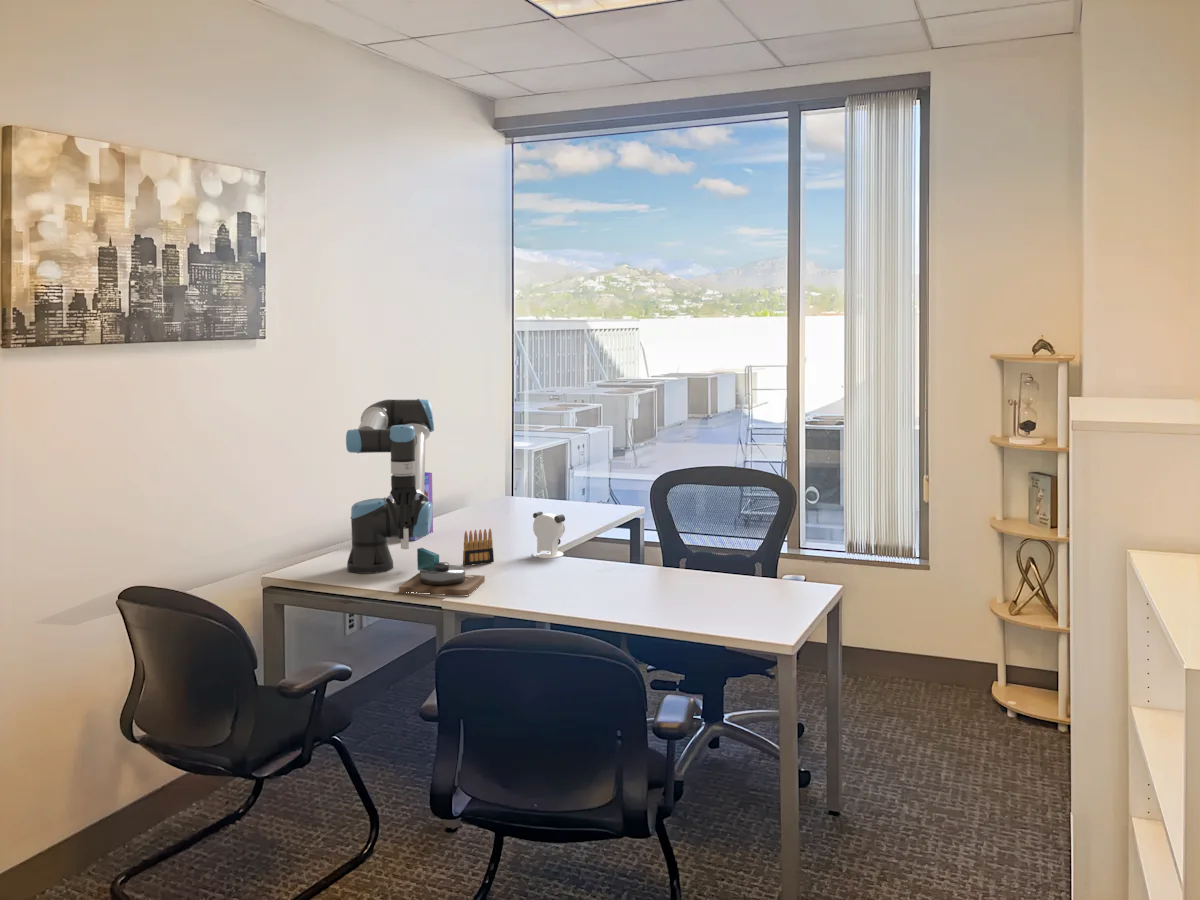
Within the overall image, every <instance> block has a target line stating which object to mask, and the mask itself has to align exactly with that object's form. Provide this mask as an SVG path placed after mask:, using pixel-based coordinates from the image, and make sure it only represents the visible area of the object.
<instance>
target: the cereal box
mask: <svg viewBox="0 0 1200 900" xmlns="http://www.w3.org/2000/svg"><path fill="white" fill-rule="evenodd" d="M424 495H426V496H427V497H428V500H429V501H428V502H431V503H432V505H433V503H434V502H433V473H432V472H427V471H425V480H424ZM433 506H434V505H433ZM433 512H434V511H433ZM433 512H432V522H431V528H430V531H429V533H430V534H432V533H434V524H433V523H434V513H433ZM431 532H432V533H431ZM429 533H428V535H430V534H429ZM424 537H425V536H421V537H411V538H409V542H416V541H418V540H421V539H423V538H424Z"/></svg>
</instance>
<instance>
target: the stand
mask: <svg viewBox="0 0 1200 900" xmlns="http://www.w3.org/2000/svg"><path fill="white" fill-rule="evenodd" d="M485 577H486V575H478V574H477V575H475V574H465V580H464V581H462V582H459V583H455V584H449V585H431V584H425V583H422V582H421V581H420V572H417V574H415V575H414V576H411V578H409V579H408V580H407V581H405V582H404V583H403V584H401V585H400V586H399V587H398V593H399V594H404V593H406V592H407V593H408V592H409V593H411V592H414V593H416V592H417V593H430V594H445V595H444V596H447V595H469V594H471V593H472V592H473V591H474V590H475V589H476V588H477V589H478V588H479V586H480V585H481V584H482V583H483V582H484V581H485V582H486V578H485ZM485 582H484V583H485ZM484 583H483V584H484ZM483 584H482V585H483ZM482 585H481V586H482ZM481 586H480V587H481ZM477 589H476V590H477ZM476 590H475V591H476ZM475 591H474V592H475ZM474 592H473V593H474ZM473 593H472V594H473ZM472 594H471V595H472Z"/></svg>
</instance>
